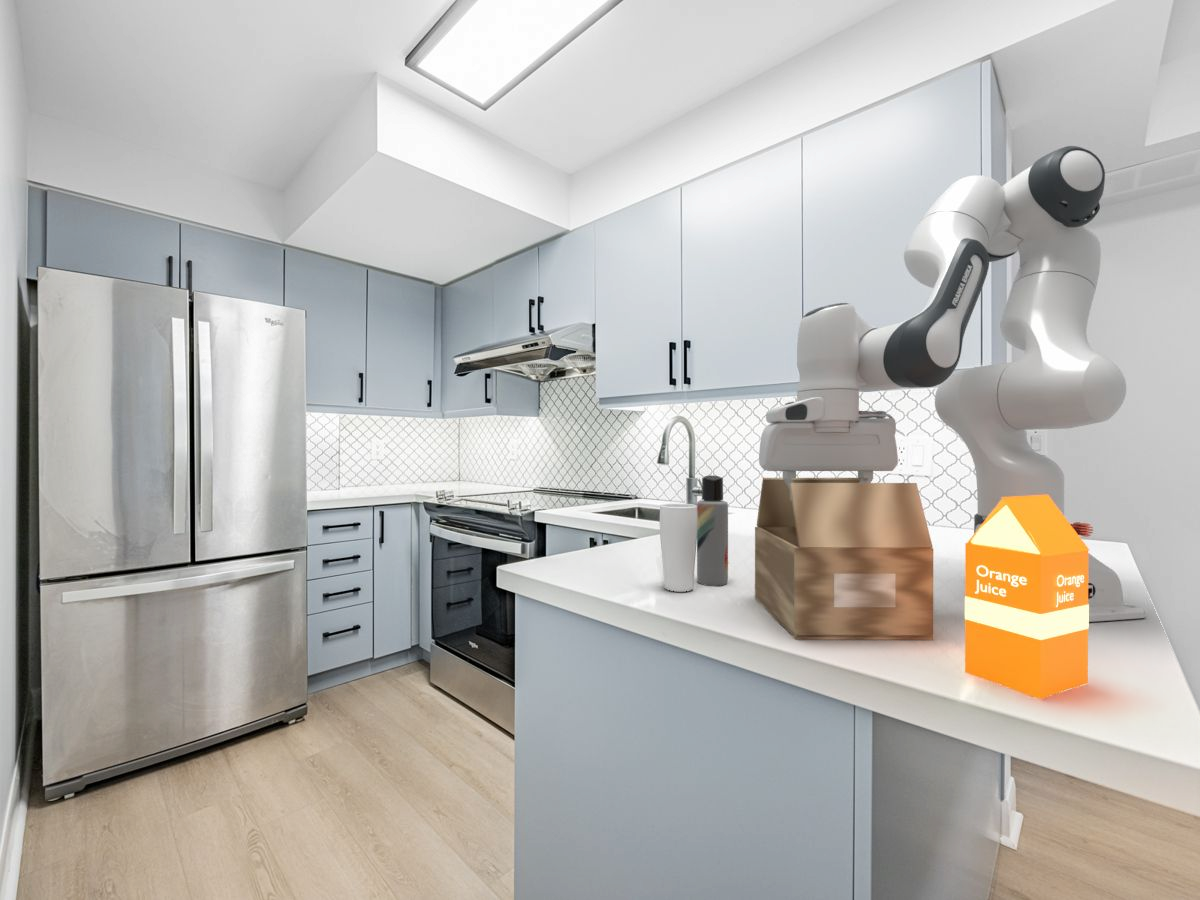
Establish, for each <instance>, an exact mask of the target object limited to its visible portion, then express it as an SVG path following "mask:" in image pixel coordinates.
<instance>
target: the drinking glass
mask: <svg viewBox="0 0 1200 900" xmlns="http://www.w3.org/2000/svg"><path fill="white" fill-rule="evenodd" d="M697 532H698V510H697V504H691V503H663V504H660V505H659V535H660V536H659V537H660V549H661V559H662V560H661V561H662V570H663V571H662V576H663V587H664V589H665V590H667V591H669V590H670V592H673V591H674V593H687V592H689V591H693V590H694V587H695V586H694V585H695V582H694V581H695V578H694V577H695V565H696V557H697ZM686 591H687V592H686Z"/></svg>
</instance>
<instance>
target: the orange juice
mask: <svg viewBox="0 0 1200 900" xmlns="http://www.w3.org/2000/svg"><path fill="white" fill-rule="evenodd" d="M1001 498H1002V500H1001V501H1000V502H999V503H998V505H997V506H996V507H995V508H994V510H993V511H992V512H991V513H990V515H989V516H988V517H987V518H986V520H985V521H984V522H983V524H982V525H981V526H980V527H979V529H978V530H977V531H976V532H975V534H974V533H973V534H972V536H971V537H970V538H969V540H968V541H967V542H965V544H964V547H965V550H964V551H965V562H964V563H965V566H964V567H965V569H964V570H965V576H964V577H965V579H964V580H965V582H964V585H965V587H964V589H965V595H964V622H965V623H964V626H965V627H964V630H965V631H964V633H965V634H964V635H965V636H964V637H965V638H964V639H965V640H964V641H965V642H964V653H965V654H964V656H965V657H964V665H965V666H964V672H965V674H969V675H972V676H975V677H978V678H980V677H981V678H980V679H983V678H984V679H983V680H986V681H988V680H989V682H991V681H992V682H991V683H994V682H995V683H994V684H996V683H998V684H997V685H999V684H1001V685H1000V686H1002V685H1003V686H1002V687H1005V688H1007V687H1008V689H1010V690H1013V689H1014V690H1013V691H1016V692H1018V691H1019V692H1020V693H1021V692H1022V694H1025V695H1028V696H1029V695H1030V696H1029V697H1032V696H1033V697H1032V698H1035V697H1036V698H1035V699H1038V700H1043V699H1046V698H1045V697H1047V696H1050V695H1053V694H1056V693H1059V692H1061V691H1064V690H1067V689H1070V688H1074V687H1077V686H1080V685H1083V684H1086V683H1088V684H1089V627H1090V622H1089V604H1088V553H1089V551H1090V549H1089V548H1088V546H1087V544H1086V543H1085V542H1084V540H1083V539H1082V538H1081V536H1080V535H1078V534H1077V533H1076V531H1075V530H1074V529H1073V527H1072V526H1071V525H1070V524H1071V523H1070V522H1069V521H1068V520H1067V518H1066V517H1065V514H1064V515H1063V514H1062V513H1061V511H1060V510H1059V509H1058V508H1057V506H1056V505H1055V504H1054V502H1053V501H1052V500H1051V498H1050V497H1049V496H1048V495H1032V496H1015V497H1001ZM1059 694H1060V693H1059ZM1056 695H1057V694H1056ZM1053 696H1054V695H1053ZM1050 697H1051V696H1050ZM1042 698H1043V699H1042ZM1047 698H1048V697H1047Z"/></svg>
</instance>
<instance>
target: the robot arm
mask: <svg viewBox="0 0 1200 900" xmlns="http://www.w3.org/2000/svg"><path fill="white" fill-rule="evenodd" d="M1105 177H1106V171H1105V168H1104V165H1103V163H1102V160H1101V159H1100V158H1099V157H1098V156H1097V155H1096V154H1094V153H1093V152H1092V151H1090V150H1088V149H1086V148H1084V147H1081V146H1075V145H1069V146H1068V145H1067V146H1064V147H1061V148H1058V149H1055V150H1053V151H1051V152H1049V153H1047V154H1045V155H1044V156H1041V157H1040V158H1039V159H1037V160H1036V161H1035V162H1034V163H1033V164H1032V165H1030V166H1029V167H1027V168H1025V169H1024V170H1023V171H1020V173H1018V174H1017V175H1015V176H1013V177H1012V178H1011V179H1009V180H1008V181H1007V182H1006V183H1004V184H1003V185H1001V184H1000V182H998V181H997V180H996V179H994V178H993V177H989V176H986V175H980V174H976V175H975V174H974V175H973V174H972V175H968V176H965V177H962V178H960V179H958V180H956V181H954V182H953V183H951V185H949V187H947V188H946V189H945V190H944V192H943V193H942V194H940V195H939V197H938V198H937V199H935V201H934V203H933V204H932V205H930V207H929V209H928V210H927V211H926V212H925V214H924V215H923V217H922V219H921V220H920V221H919V222H918V224H917V226H916V227H915V229H914V230H913V232H912V233H911V235H910V237H909V239H908V241H907V244H906V246H905V250H904V254H903V261H904V265H905V267H906V269H907V272H908V273H909V274H910V275H911V276H912V278H914V279H915V281H916V282H917V281H918V283H921V284H922V285H924V286H926V287H928V288H931V289H932V290H931V293H930V295H929V297H928V299H927V302H926V304H925V306H924V308H923V309H922V310H921V311H919V312H917V313H916V314H915V315H914V316H912V317H909V318H907V319H905V320H902V321H901V322H900V321H899V322H897V323H894V324H889V325H886V326H885V325H884V326H882V327H880V328H879V327H878V326H874V325H872V324H870V323H869V322H867V321H865V320H864V319H863V318H862V317H861V316H860V315H859V314H858V313H857V311H856V310H855V306H854V304H852V303H848V302H839V303H834V304H828V305H825V306H820V307H817V308H815V309H812V310H810V311H808V312H807V313H805V315H803V317H802V318H801V321H800V324H799V327H798V333H797V343H796V344H797V345H796V346H797V347H796V366H797V371H798V373H799V381H798V386H797V389H796V401H789V402H787V403H784V405H781V406H777V407H774V408H771V409H769V410H767V411H766V413H765V419H766V422H767V423H768V425H766V426H765V427H764V429H763V430H762V433H761V437H760V442H759V443H760V444H759V450H758V451H759V454H758V463H759V466H760V468H761V469H762V470H764V471H767V472H782V478H783V480H784V481H785V483H786V485H787V486H788V488H789V489H790V485H789V484H790V483H794V481H793V479H795V478H797V472H857V478H861V480H860V482H859V483H872V481H873V480H874V472H893V471H894V470H895V469H896V467H897V466H898V463H899V461H898V459H899V457H898V455H899V454H898V447H897V441H896V433H897V429H896V425H897V424H896V423H897V422H896V419H895V418H894V417H893V415H891V414H889V413H887V412H886V411H884V410H876V411H870V410H860V392H862V393H870V392H879V391H889V390H890V391H891V390H897V389H898V390H899V389H911V388H912V389H913V388H916V389H917V388H933V387H934V388H935V387H936V386H938V387H937V389H936V390H935V395H934V408H935V410H936V413H937V415H938V417H939V418H940V420H941V422H943V423H944V425H946V426H948V427H949V428H950V429H951V430H953V431H954V432H955V433H956V434H957V435H958V436H959V437H960V439H962V441H963V442H964V444H965V445H966V447H967V449H968V451H969V453H970V456H971V459H972V461H973V465H974V469H975V477H976V495H977V500H976V501H977V513H976V514H975V515H974V523H973V535H974V534H975V532H976V531H977V530H978V529H979V527H980V526H981V525H982V524H983V522H984V521H985V520H986V518H987V517H988V516H989V515H990V513H991V512H992V511H993V510H994V508H995V507H996V506H997V505H998V503H999V502H1000V501H1001V500H1002V498H1001V497H1015V496H1032V495H1048V496H1049V497H1050V498H1051V500H1052V501H1053V502H1054V504H1055V505H1056V506H1057V508H1058V509H1059V510H1060V511H1061V513H1062V514H1063V515H1064V516H1065V475H1064V472H1063V470H1062V468H1061V467H1060V466H1059V464H1057V463H1056V462H1055V461H1054V460H1053V459H1051V458H1049V457H1047V456H1046V455H1043V454H1040V453H1038V452H1036V451H1035V450H1034V449H1033V447H1032V446H1031V444H1029V441H1028V439H1027V435H1026V430H1027V431H1029V430H1030V431H1032V430H1064V429H1073V428H1078V427H1084V426H1089V425H1093V424H1099V423H1103V422H1106V421H1108V420H1110V419H1111V418H1112V417H1113V416H1115V415H1116V414H1117V412H1119V410H1120V409H1121V406H1123V403H1124V401H1125V400H1126V399H1125V398H1126V395H1127V382H1126V379H1125V376H1124V372H1123V371H1122V370H1121V369H1120V368H1119V366H1118V365H1117V364H1116V363H1114V361H1112V360H1111V359H1110V358H1108V357H1106V356H1104V355H1102V354H1100V353H1098V352H1097V351H1095V350H1094V348H1092V347H1091V345H1090V342H1089V341H1088V336H1087V328H1088V322H1089V317H1090V313H1091V312H1090V311H1091V310H1092V309H1091V307H1092V304H1093V302H1094V301H1093V300H1094V298H1095V294H1096V290H1097V286H1098V280H1099V277H1100V276H1099V275H1100V271H1101V270H1100V269H1101V258H1102V257H1101V256H1102V255H1101V254H1102V253H1101V243H1100V240H1099V238H1098V236H1097V235H1096V234H1095V233H1093V232H1092V231H1091V230H1089V229H1087V228H1086V227H1085V225H1086V224H1088V223H1090V222H1091V221H1093V219H1095V217H1096V215H1097V214H1098V213H1099V212H1100V208H1101V205H1100V200H1101V199H1102V196H1103V195H1104V189H1105V180H1106V179H1105ZM1017 252H1018V255H1019V267H1018V269H1017V272H1016V274H1015V277H1014V280H1013V282H1012V286H1011V289H1010V292H1009V294H1008V297H1007V300H1006V304H1005V307H1004V309H1003V312H1002V313H1003V314H1002V316H1001V320H1000V323H999V326H1000V331H1001V334H1002V337H1003V338H1004V340H1005V341H1006V342H1007V344H1009V345H1011V346H1012V347H1014V348H1016V349H1018V350H1021V351H1024V353H1023V356H1022V357H1021V358H1020V359H1019V360H1016V361H1011V362H1003V363H997V364H989V365H981V366H973V367H970V368H968V369H963V370H960V371H958V372H955V370H956V368H957V366H958V364H959V361H960V357H961V355H962V347H963V342H964V341H963V340H964V336H965V333H966V330H967V327H968V324H969V321H970V319H971V316H972V314H973V311H974V309H975V307H976V304H977V301H978V300H979V297H980V294H981V291H982V289H983V287H984V285H985V281H986V279H987V275H988V272H989V267H990V263H991V262H993V263H994V262H998V261H1001V260H1004V259H1007V258H1009V257H1011V256H1013V255H1015V254H1017ZM953 372H955V373H953ZM792 478H793V479H792ZM790 500H791V501H792V499H791V492H790ZM1070 525H1071V526H1072V527H1073V529H1074V530H1075V531H1076V533H1077V534H1078V535H1079V536H1080V537H1081V536H1082V537H1085V538H1086V537H1087V538H1088V537H1091V535H1092V534H1093V533H1094V532H1093V531H1094V529H1093V526H1092V525H1091V524H1089V523H1087V522H1084V523H1083V522H1082V523H1081V522H1080V521H1079V522H1078V521H1076V522H1073V523H1070ZM1088 604H1089V623H1090V622H1091V623H1092V622H1104V621H1105V622H1106V621H1118V620H1134V619H1136V620H1137V619H1145V618H1146V614H1145V610H1143V609H1142V608H1140V607H1139V606H1136V605H1134V604H1131V603H1128V602H1125V601H1124V594H1123V587H1122V583H1121V579H1120V577H1119V575H1118V574H1117V572H1115V570H1113V569H1112V568H1110V567H1109V566H1108V565H1106V564H1105V563H1103V562H1102V561H1100V560H1099V559H1097V558H1096V557H1095V556H1093V555H1092V554H1091V553H1089V552H1088Z"/></svg>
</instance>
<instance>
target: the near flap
mask: <svg viewBox="0 0 1200 900" xmlns="http://www.w3.org/2000/svg"><path fill="white" fill-rule="evenodd" d="M789 485H790V492H791V499H792V505H793V512H794V519H795V526H796V532H797V539H798V546H799V548H880V549H931V548H933V544H932V539H931V535H930V534H931V533H930V531H929V527H928V522H927V518H926V515H925V511H924V507H923V503H922V499H921V495H920V492H919V488H918V484H917V482H871V483H790V484H789ZM933 549H934V548H933Z"/></svg>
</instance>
